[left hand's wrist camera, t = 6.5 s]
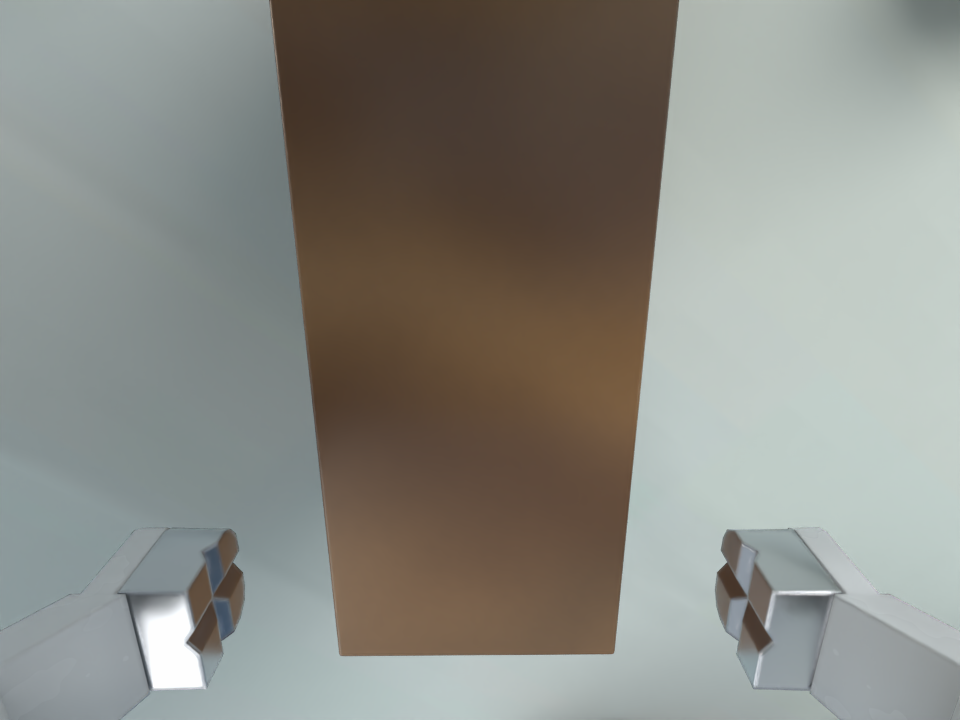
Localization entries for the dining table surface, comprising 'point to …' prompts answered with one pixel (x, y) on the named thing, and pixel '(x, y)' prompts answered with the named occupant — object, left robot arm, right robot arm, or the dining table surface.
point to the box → (475, 305)
